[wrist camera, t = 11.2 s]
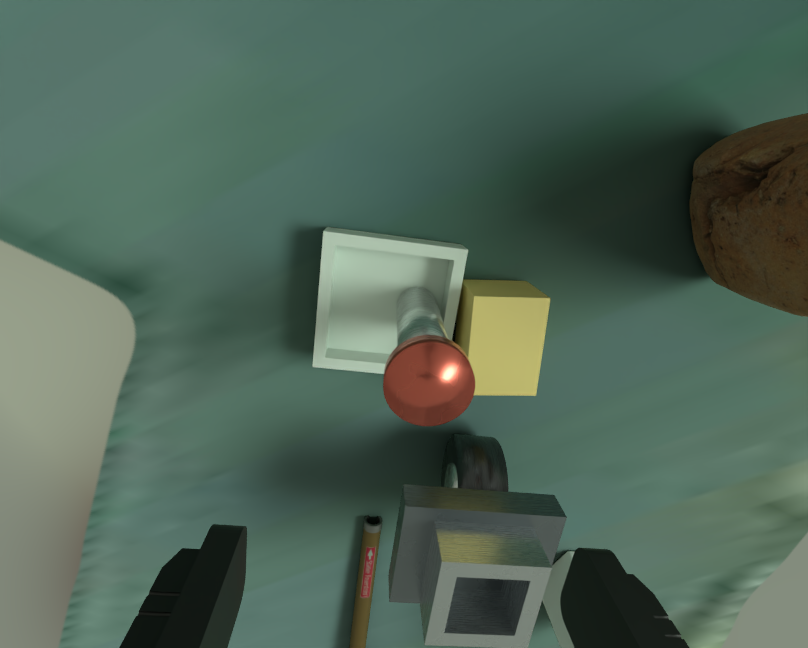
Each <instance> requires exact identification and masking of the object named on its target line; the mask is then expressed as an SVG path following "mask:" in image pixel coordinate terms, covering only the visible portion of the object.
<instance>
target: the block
mask: <svg viewBox="0 0 808 648" xmlns="http://www.w3.org/2000/svg"><path fill="white" fill-rule="evenodd" d="M693 178H694V180H693V182H692V189H691V197H690V202H689V205H690V216H691V223H692V231H693V239H694V243H695V246H696V250H697V253H698V255H699V257H700V259H701V261H702V263H703V266H704V268H705V271H706V273H707V274H708V275H709V276H710V278H711V279H712V280H713V281H714V282H715V283H717V284H719V285H721V286H723V287H726V288H728V289H729V290H731V291H733V292H736V293H738V294H740V295H742V296H744V297H746V298H749V299H751V300H754V301H757V302H759V303H762V304H765V305H767V306H770V307H773V308H776V309H779V310H782V311H785V312H788V313H791V314H795V315H799V316H807V317H808V113H807V114H802V115H797V116H792V117H788V118H783V119H779V120H775V121H771V122H766V123H763V124H760V125H757V126H754V127H751V128H747V129H745V130H742V131H739V132H737V133H734V134H732V135H730V136H728V137H726V138H724V139H722V140H720V141H718V142H716V143H715V144H714V145H713V146H711V147H710V148H708V149H707V150H706V151H704V152H703V153H702V154H701V155H700V156H699V157H698V158H697V159H696V161H695V163H694V167H693Z"/></svg>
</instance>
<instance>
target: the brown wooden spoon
mask: <svg viewBox="0 0 808 648" xmlns="http://www.w3.org/2000/svg"><path fill="white" fill-rule="evenodd" d="M363 527H364V529H363V537H362V546H361V554H360V563H359V571H358V579H357V588H356V596H355V604H354V613H353V621H352V630H351V638H350V646H349V648H365V646H366V638H367V631H368V623H369V615H370V608H371V600H372V593H373V585H374V577H375V570H376V562H377V555H378V547H379V539H380V532H381V528H382V518H381V517H380V516H377V520H376V525H372V524H369V516H365V518H364V525H363Z"/></svg>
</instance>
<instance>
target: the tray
mask: <svg viewBox="0 0 808 648" xmlns="http://www.w3.org/2000/svg"><path fill="white" fill-rule="evenodd" d="M467 254H468V249H467V248H465V247H464V246H463V245H462V244H455V243H447V242H440V241H432V240H424V239H417V238H409V237H401V236H394V235H386V234H378V233H371V232H363V231H355V230H348V229H340V228H332V227H327V228H326V229H325V230H324V231H323V242H322V254H321V267H320V279H319V292H318V304H317V317H316V329H315V342H314V354H313V367H319V368H329V369H339V370H349V371H359V372H370V373H380V374H384V369H385V364H386V362H387V359H388V358H389V356H390V354H391V353H392V351H393V350H394V349H395V348H396V347H397V317H396V304H397V300H398V298H399V296H400V295H401V293H402V292H404V291H405V290H406V289H408V288H411V287H423V288H426V289H428V290H429V291H430V292H432V293H433V295H434V296H435V298H436V301H437V304H438V307H439V311H440V314H441V317H442V321H443V324H444V327H445V331H446V334H447V337H448V339H450V340H452V337H453V331H454V326H455V320H456V315H457V309H458V304H459V298H460V293H461V287H462V282H463V276H464V270H465V265H466V259H467Z"/></svg>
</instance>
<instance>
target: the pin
mask: <svg viewBox="0 0 808 648" xmlns="http://www.w3.org/2000/svg"><path fill="white" fill-rule="evenodd" d="M396 317H397V347H396V348H395V349H394V350H393V351H392V353H391V354H390V356H389V358H388V359H387V362H386V364H385V369H384V383H383V389H384V395H385V399H386V401H387V403H388V405H389V407H390V408H391V409H392V411H393V412H394V413H395V414H396V415H397V416H399V417H400V418H401V419H403V420H405V421H407V422H409V423H412V424H415V425H420V426H436V425H441V424H444V423H447V422H449V421H451V420H453V419H455V418H456V417H458V416H459V415H460V414H462V413H463V412H464V411H465V409H466V408H467V407H468V406H469V404H470V402H471V400H472V398H473V395H474V392H475V376H474V373H473V370H472V367H471V364H470V362H469V359H468V357H467V355H466V354H465V352H464V351H463V350H462V348H461V347H460V346H459V345H457V344H456V343H455V342H453V341H452V340H450V339H448V337H447V334H446V331H445V327H444V324H443V321H442V317H441V314H440V311H439V307H438V304H437V301H436V298H435V296H434V295H433V293H432V292H430V291H429V290H428V289H426V288H423V287H411V288H408V289H406V290H405V291H404V292H402V293H401V295H400V296H399V298H398V300H397V304H396Z"/></svg>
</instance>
